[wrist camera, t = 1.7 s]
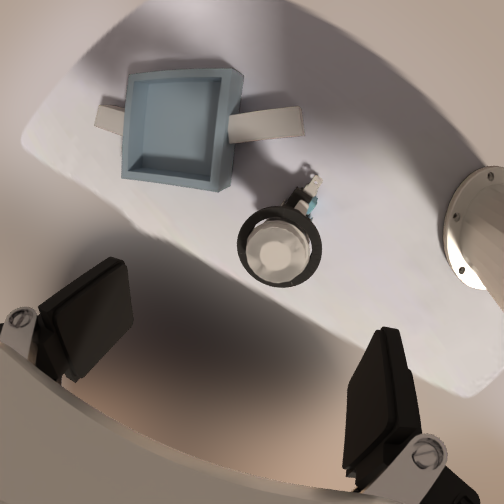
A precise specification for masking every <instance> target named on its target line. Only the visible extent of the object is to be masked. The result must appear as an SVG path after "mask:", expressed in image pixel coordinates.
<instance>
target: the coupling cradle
mask: <svg viewBox="0 0 504 504" xmlns="http://www.w3.org/2000/svg"><path fill="white" fill-rule="evenodd" d="M243 79H244V76H243V75H242V74H240V73H239V72H237V71H236V70H234V69H231V68H202V69H178V70H164V71H154V72H144V73H136V74H129V77H128V85H127V93H126V102H125V108H121V107H118V106H114V105H99V108H98V112H97V116H96V120H95V124H94V126H96V127H98V128H101V129H104V130H107V131H110V132H112V133H115V134H118V135H121V136H123V142H122V173H121V178H122V179H130V180H138V181H146V182H154V183H161V184H168V185H175V186H181V187H188V188H194V189H200V190H207V191H213V192H220V191H222V190H224V189H226V188H228V187H230V185H231V176H232V167H233V158H234V149H235V143H243V142H250V141H258V140H266V139H275V138H285V137H296V136H305V132H304V124H303V116H302V109H301V108H300V107H299V106H295V107H285V108H277V109H269V110H261V111H254V112H248V113H242V114H239V109H240V101H241V94H242V86H243Z"/></svg>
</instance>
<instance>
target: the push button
mask: <svg viewBox="0 0 504 504" xmlns="http://www.w3.org/2000/svg"><path fill="white" fill-rule="evenodd" d="M314 181H317V182H318V184H315V183H314ZM322 181H323V180H322V179H321V178H320V177H319V176H317V175H315V176H314V178H313V179H312V181H311V182H310V184H307V185H306V186H305V188H301V189H300V188H298V187H296V189H295V190H294V192H293V193H292V195H291V196H290V198H289V199H288V201H287V202H286V203H284V202H285V200H286V199H285V200H284V201H283V203H282V204H281V206H272V207H267V208H264V209H261V210H259V211H257V212H255V213H254V214H253V215H251V216H250V217H249V218H248V219H247V220H246V221H245V223H244V224H243V225H242V227H241V229H240V231H239V234H238V239H237V251H238V255H239V258H240V261H241V263H242V265H243V266H244V268H245V269H246V270H247V272H248V273H249V274H250V275H251V276H252V277H254V278H255V279H256V280H258V281H260V282H261V283H263V284H266V285H269V286H272V287H279V288H286V287H292V286H296V285H299V284H301V283H303V282H304V281H306V280H307V279H309V278H310V277H311V276H312V275H313V274H314V272H315V271H316V269H317V268H318V265H319V263H320V260H321V255H322V243H321V238H320V235H319V232H318V230H317V229H316V227H315V225H314V224H313V223H312V219H313V218H311V219H309V218H308V215H309V214H310V212H311V211H312V210H313V209H314V207H315V206H316V204H317V199H318V198H317V197H315V195H316V194H317V189H318V188H319V186H320V185H321V183H322ZM267 218H269V219H267ZM264 219H267V220H266V221H265V222H264V223H263V224H261V225H259V226H257V227H256V228H254V227H255V225H256V224H257V223H258V222H260V221H262V220H264ZM309 238H310V240H309ZM310 241H311V244H312V253H311V255H310V248H309V242H310ZM309 255H310V257H309Z"/></svg>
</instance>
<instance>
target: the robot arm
mask: <svg viewBox="0 0 504 504" xmlns="http://www.w3.org/2000/svg"><path fill="white" fill-rule="evenodd" d="M454 214H455V216H454V217H453V215H454ZM443 242H444V251H445V254H446V258H447V261H448V263H449V265H450V267H451V269H452V271H453V272H454V273H455V275H456V276H457V277H458V278H459V279H460V280H461V281H462V282H463V283H464V284H466V285H468V286H470V287H472V288H476V289H487V291H488V292H489V293H490V295H491V296H492V297H493V299H494V300H495V301H496V303H497V304H498V305H499V307H500V308H501V310H502V311H503V312H504V168H503V167H499V166H487V167H484V168H481V169H478V170H477V171H475V172H473V173H472V174H470V175H469V176H468V177H467V178H466V179H465V180H464V181H463V182H462V183H461V185H460V186H459V187H458V189H457V190H456V192H455V193H454V195H453V197H452V199H451V201H450V204H449V207H448V210H447V213H446V216H445V222H444V229H443ZM38 308H39V311H40V314H39V315H38V316H37V313H36V311H35V310H34V309H33V308H30V307H20V308H17V309H15V310H13V311H12V312H11V313H10V314H9V315H8V316H7V318H6V320H5V323H1V324H0V504H480V499H479V496H478V494H477V493H476V492H475V491H474V490H473V489H472V488H471V487H469V486H468V485H467V484H466V483H465V482H464V481H462V480H461V479H460V478H459V477H458V476H457V475H456V474H455V473H453V472H452V471H451V470H450V469H449V468H448V467H447V466H445V464H446V462H447V456H448V453H447V449H446V446H445V445H444V443H443V442H442V441H441V440H440V439H439V438H438V437H436V436H434V435H432V434H422V429H421V421H420V415H419V408H418V402H417V396H416V391H415V386H414V380H413V375H412V372H411V370H410V369H408V366H407V362H406V357H405V353H404V348H403V344H402V340H401V336H400V332H399V330H398V329H394V328H389V327H382V328H381V330H376V331H375V333H374V335H373V337H372V339H371V341H370V343H369V345H368V347H367V349H366V351H365V353H364V355H363V357H362V359H361V361H360V363H359V365H358V367H357V368H356V370H355V372H354V374H353V376H352V378H351V380H350V382H349V384H348V389H347V413H346V429H345V443H344V453H343V465H342V467H343V469H347V470H346V477H351V478H356V480H355V484H356V487H355V488H354V489H353V490H352V491H351V492H345V491H338V490H331V489H323V488H316V487H308V486H303V485H297V484H291V483H286V482H281V481H277V480H271V479H268V478H263V477H259V476H254V475H251V474H247V473H243V472H240V471H236V470H232V469H229V468H226V467H223V466H220V465H217V464H213V463H210V462H208V461H205V460H202V459H199V458H196V457H194V456H191V455H188V454H186V453H183V452H181V451H178V450H176V449H174V448H171V447H169V446H166V445H164V444H162V443H160V442H158V441H155V440H153V439H151V438H149V437H146V436H145V435H143V434H141V433H139V432H136V431H134V430H133V429H131V428H129V427H127V426H125V425H123V424H121V423H119V422H118V421H116V420H114V419H112V418H110V417H109V416H107V415H105V414H104V413H102V412H100V411H99V410H97V409H95V408H94V407H92V406H90V405H89V404H87V403H86V402H84V401H83V400H81V399H80V398H78V397H76V396H75V395H73V394H72V393H70V392H69V391H68V390H66V389H65V388H64V387H62V386H61V384H62V375H63V374H64V373H65V375H66V377H67V378H69V379H70V380H72V381H73V382H75V383H76V382H77V381H78V379H80V378H83V377H85V376H86V374H87V373H88V372H89V371H90V370H91V369H92V368H93V367H94V366H95V365H96V364H97V363H98V361H99V360H100V359H101V358H102V357H103V356H104V355H105V354H106V353H107V352H108V351H109V350H110V349H111V348H112V347H113V345H114V344H115V343H116V342H117V341H118V340H119V339H120V338H121V337H122V336H123V335H124V334H125V333H126V332H127V331H128V330H129V328H131V326H132V325H133V321H134V318H133V313H132V305H131V297H130V289H129V280H128V270H127V266H126V265H125V263H124V261H123V260H120V259H117V258H114V257H109V258H107V259H105V260H104V261H102V262H101V263H99V264H98V265H96V266H95V267H93V268H92V269H90V270H89V271H87V272H86V273H84V274H83V275H81V276H80V277H79V278H77V279H76V280H74V281H73V282H71V283H70V284H68V285H67V286H66V287H64V288H63V289H61V290H60V291H58V292H57V293H56V294H54V295H53V296H52V297H50V298H49V299H47V300H46V301H45V302H43V303H42V304H41V305H39V306H38Z"/></svg>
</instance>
